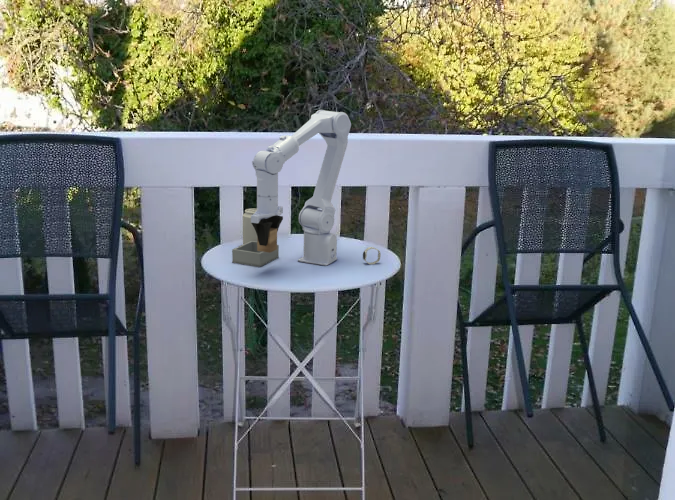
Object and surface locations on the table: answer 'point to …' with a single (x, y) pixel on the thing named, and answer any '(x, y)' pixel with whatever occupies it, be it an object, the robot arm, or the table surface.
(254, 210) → the can
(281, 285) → the table surface
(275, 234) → the walnut block
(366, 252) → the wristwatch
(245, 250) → the bin
